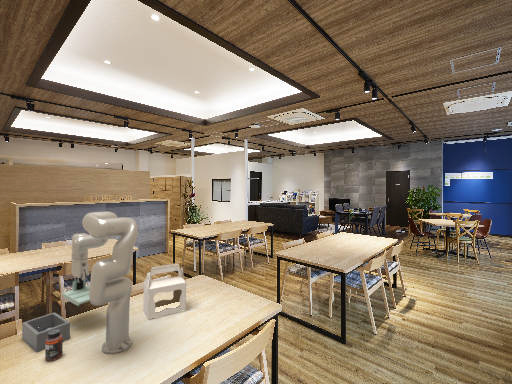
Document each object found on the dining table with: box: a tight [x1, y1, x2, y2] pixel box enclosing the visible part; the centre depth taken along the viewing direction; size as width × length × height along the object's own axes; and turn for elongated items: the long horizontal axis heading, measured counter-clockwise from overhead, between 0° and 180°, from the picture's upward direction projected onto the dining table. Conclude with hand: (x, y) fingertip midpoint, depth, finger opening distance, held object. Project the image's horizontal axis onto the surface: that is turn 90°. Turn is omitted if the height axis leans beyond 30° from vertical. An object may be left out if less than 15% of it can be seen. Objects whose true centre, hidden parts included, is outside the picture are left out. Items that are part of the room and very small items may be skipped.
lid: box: [61, 278, 90, 307], centre depth 139 cm, size 20×15×7 cm
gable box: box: [142, 262, 187, 321], centre depth 156 cm, size 22×13×28 cm, turn 124°
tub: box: [21, 312, 71, 354], centre depth 125 cm, size 18×13×8 cm
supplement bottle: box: [44, 329, 64, 362], centre depth 112 cm, size 6×6×11 cm
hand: (79, 288), depth 144 cm, fingers closed on lid, 1 cm apart
